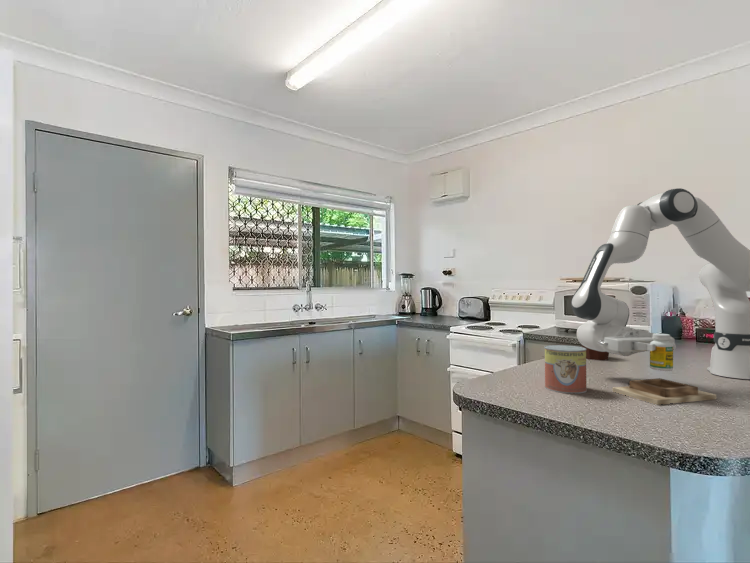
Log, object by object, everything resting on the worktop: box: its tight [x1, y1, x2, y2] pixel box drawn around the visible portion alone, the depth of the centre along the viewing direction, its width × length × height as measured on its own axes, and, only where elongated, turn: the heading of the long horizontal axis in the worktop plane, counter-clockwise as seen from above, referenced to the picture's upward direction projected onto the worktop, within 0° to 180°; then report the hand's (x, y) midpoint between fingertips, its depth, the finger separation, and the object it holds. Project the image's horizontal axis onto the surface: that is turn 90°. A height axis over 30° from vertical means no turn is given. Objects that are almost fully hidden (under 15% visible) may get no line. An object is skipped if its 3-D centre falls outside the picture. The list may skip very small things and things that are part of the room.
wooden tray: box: [611, 377, 718, 406], centre depth 116 cm, size 20×14×3 cm
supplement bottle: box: [649, 333, 674, 372], centre depth 116 cm, size 5×5×10 cm
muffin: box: [581, 344, 610, 361], centre depth 176 cm, size 12×11×10 cm
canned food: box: [543, 344, 588, 394], centre depth 124 cm, size 11×11×12 cm
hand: (664, 347), depth 116 cm, fingers closed on supplement bottle, 5 cm apart
